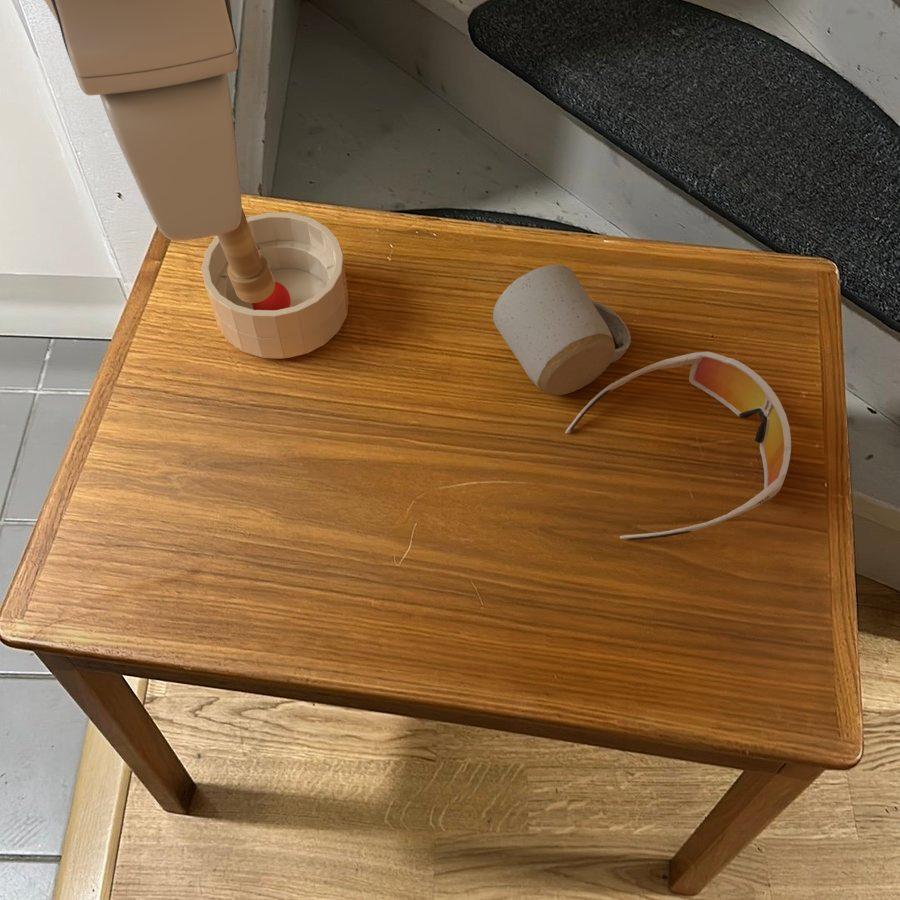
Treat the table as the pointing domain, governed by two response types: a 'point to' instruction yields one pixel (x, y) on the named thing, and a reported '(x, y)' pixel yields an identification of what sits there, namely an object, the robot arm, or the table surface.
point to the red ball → (275, 299)
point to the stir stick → (246, 264)
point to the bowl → (299, 270)
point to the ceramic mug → (558, 329)
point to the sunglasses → (744, 399)
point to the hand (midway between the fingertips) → (196, 181)
